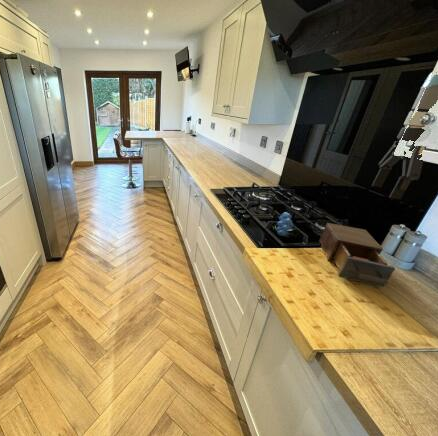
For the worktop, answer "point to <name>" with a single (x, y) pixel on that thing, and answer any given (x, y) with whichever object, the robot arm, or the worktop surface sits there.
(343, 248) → the drawer
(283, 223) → the grapes
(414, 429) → the worktop surface
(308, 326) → the worktop surface
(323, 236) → the cabinet
